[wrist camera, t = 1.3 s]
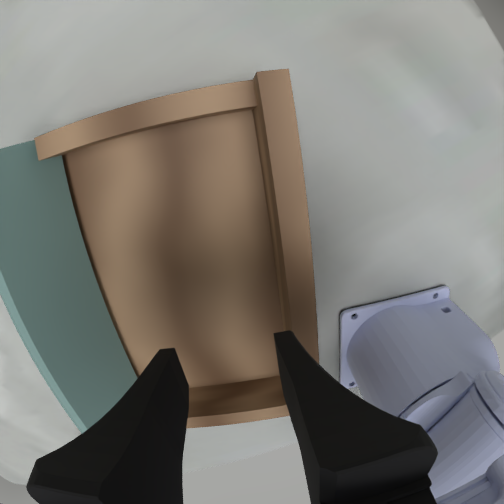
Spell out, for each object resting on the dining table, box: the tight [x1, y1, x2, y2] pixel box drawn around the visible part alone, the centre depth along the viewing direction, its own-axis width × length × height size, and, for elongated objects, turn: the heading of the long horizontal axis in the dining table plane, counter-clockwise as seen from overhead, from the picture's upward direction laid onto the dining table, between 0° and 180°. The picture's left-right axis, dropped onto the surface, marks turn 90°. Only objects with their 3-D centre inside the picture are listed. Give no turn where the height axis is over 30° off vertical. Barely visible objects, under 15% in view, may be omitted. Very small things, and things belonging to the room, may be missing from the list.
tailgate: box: [0, 140, 138, 433], centre depth 16 cm, size 1×20×6 cm, turn 8°
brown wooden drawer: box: [34, 69, 319, 428], centre depth 17 cm, size 13×20×6 cm, turn 9°
